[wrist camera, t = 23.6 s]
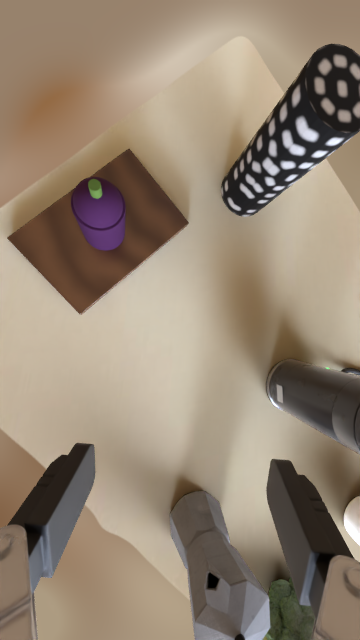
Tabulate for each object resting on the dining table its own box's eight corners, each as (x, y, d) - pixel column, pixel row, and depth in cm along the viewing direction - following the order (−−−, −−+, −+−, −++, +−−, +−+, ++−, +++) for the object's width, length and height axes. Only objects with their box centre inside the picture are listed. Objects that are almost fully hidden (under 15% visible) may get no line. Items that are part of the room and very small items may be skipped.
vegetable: (224, 646, 41) (283, 611, 35) (249, 578, 51) (297, 543, 46) (287, 747, 35) (367, 723, 30) (301, 648, 46) (361, 617, 41)
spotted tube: (266, 216, 44) (380, 135, 25) (223, 216, 42) (309, 129, 23) (262, 169, 44) (373, 50, 24) (218, 167, 42) (301, 37, 23)
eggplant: (122, 209, 37) (121, 154, 25) (127, 249, 37) (129, 214, 25) (80, 210, 36) (57, 152, 23) (85, 251, 36) (65, 216, 24)
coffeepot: (153, 500, 40) (176, 644, 22) (203, 468, 42) (260, 577, 24) (192, 576, 42) (243, 764, 24) (239, 542, 43) (317, 693, 26)
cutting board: (128, 154, 39) (129, 148, 37) (186, 226, 41) (188, 222, 39) (11, 241, 35) (6, 237, 34) (81, 314, 37) (80, 314, 36)
